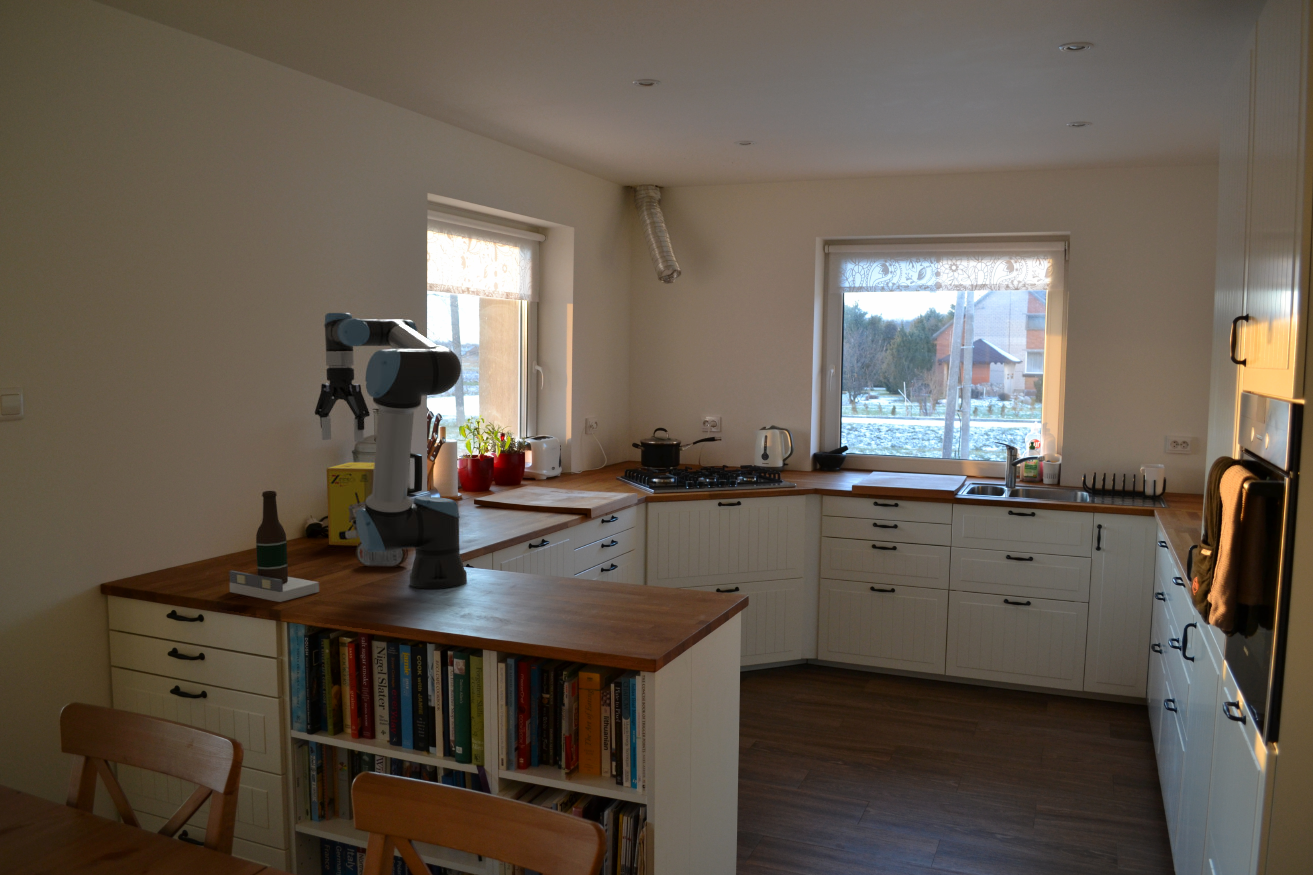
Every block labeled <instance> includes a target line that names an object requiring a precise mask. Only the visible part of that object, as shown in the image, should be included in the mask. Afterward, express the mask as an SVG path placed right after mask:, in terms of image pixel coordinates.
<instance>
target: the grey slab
mask: <svg viewBox="0 0 1313 875" xmlns="http://www.w3.org/2000/svg"><path fill="white" fill-rule="evenodd" d="M228 572H229V592H230V593H233V594H238V595H239V594H240V595H242V596H248V597H253V598H258V599H261V600H267V601H271V602H273V601H274V602H278V603H283V602H285V601H289V600H293V599H297V598H302V597H305V596H309V595H312V594H317V593H319V592H320V583H319V581H312V580H308V579H303V578H297V577H292V576H288V582H287V583H284V584H282V580H280V579H275V578H270V577H264V576H259V575H257V574H253V573H247V572H242V571H238V570H237V571H236V570H229V571H228Z"/></svg>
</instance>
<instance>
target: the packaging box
mask: <svg viewBox="0 0 1313 875" xmlns="http://www.w3.org/2000/svg"><path fill="white" fill-rule="evenodd" d="M374 465H375V462H356V461H355V462H354V461H350V462H346V463H342V464H337V465H333V466H330V467H327V468H326V488H327V489H326V492H327V493H326V494H327V495H326V496H327V519H328V520H327V521H328V522H327V523H328V545H330V546H331V545H333V546H356V547H357V546H358V544H359V543H360V542H361V541H360V538H359V535H358V530H357V525H356V513H357V511H358V510H359V509H361V508H365V504H366V499H367V497H369V496H370V495H371V494H372V492H373V479H374Z"/></svg>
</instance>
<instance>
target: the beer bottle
mask: <svg viewBox="0 0 1313 875" xmlns="http://www.w3.org/2000/svg"><path fill="white" fill-rule="evenodd" d="M277 494H278V493H277V491H275V490H266V491H262V494H261V497H262V500H263V501H262V520H261V523H260V525H259V527H258V529H257V530H256V535H255V539H256V540H255V549H256V569H257V570H256V573H257V574H256V575H259V576H264V577H270V578H275V579H280V580H282V584H284V583H287V582H288V577H289V571H288V570H289V569H288V567H289V566H288V565H289V564H288V546H287V534H286V532H285V528H284V527H283V525H282V524H281V522H280V521H279V520H280V519H279V516H278V515H279V514H278V507H277V506H278V505H277V496H278V495H277Z"/></svg>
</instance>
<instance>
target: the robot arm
mask: <svg viewBox="0 0 1313 875" xmlns="http://www.w3.org/2000/svg"><path fill="white" fill-rule="evenodd" d="M323 326H324V337H325V338H324V339H325V364H326V365H325V366H327V368H326V381H327V382H329V383H321V384H320V393H319V397H318V400H317V403H316V407H315V411H314V415H315V416H318V417H319V420H320V421H319V422H320V429H321V441H327V440H332V424H331V423H332V421H331V416H330V413H332V412H331V411H332V410H333V408H334V406H335V405H336V402H337V401H338V400H343V401H344V402H346V404H347V405H348V408H350V410H351V412H352V413H353V415H354V419H353V432H354V436H353V438H354V443H362V442H364V440H365V439H364V430H365V419H366V418H367V417H370V415H371V414H370V411H369V408H368V405H367V404H366V400H365V398H364V395H363V392H362V386H361V384H360V383H353V381H355V369H354V367H352V366H354V362H355V361H354V347H391V348H390V349H389V348H388V349H379V350H377V351H375V352H373V354H372V355H371V356H370V358H369V361H368V363H367V364H366V370H365V371H366V372H365V379H364V380H365V382H366V383H365V389H366V391H367V394H368V395H369V396H370V397H372V401H373V403H374V405H376V407H378V410H377V412H378V414H377V424H376V425H377V429H376V439H375V455H374V463H375V465H374V479H373V492H372V494H371V495H370V496H369V497H367V499H366V504H365V508H361V509H359V510H358V511H357V513H356V525H357V530H358V535H359V538H360V541H361V543H362V545H363V547H364V548H365V549H366V550H367V551H369V552H385V551H392V550H399V549H413V548H415V556H414V561H413V564H412V568H411V572H410V574H409V585H410V586H411V587H412V588H416V589H424V590H439V589H449V588H454V587H459V586H462V585H464V584H466V583H467V581H468V574H467V570H465V567H464V563H463V560H462V556H461V553H460V512H459V505H458V503H457V501H455V500H453V499H451V498H445V497H437V496H416V497H414V498H413V499H414V500H413V501H412V499H411V498H410V497H409V496H407V495H408V488H409V487H408V485H409V474H410V473H409V472H410V461H411V450H412V440H413V438H412V436H413V426H414V418H415V417H414V415H415V410H417V409H418V408H419V407H420V406H421V405H422V397H423V396H436V395H437V396H438V395H442V394H443V393H447V392H448V391H449V390H451V389H452V388H453V387H454V386H455V385H456V384H457V382H458V381H459V379H460V376H461V372H462V364H461V362H460V358H459V357H458V355H457V354H456V352H454V351H453V350H451V349H450V348H448V347H447V346H444V345H437V344H435V343H434V342H433V341H431V340H430V339H428V338H427V337H425V336H424V335H422V334H420V333H419V332H418V327H417V326H416V323H415V321H413V320H411V319H404V318H403V319H402V318H401V319H400V318H399V319H382V318H381V319H375V318H373V319H372V318H355V317H354V318H353V315H352V314H351V313H350V312H328V313H325V315H324V324H323Z"/></svg>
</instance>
